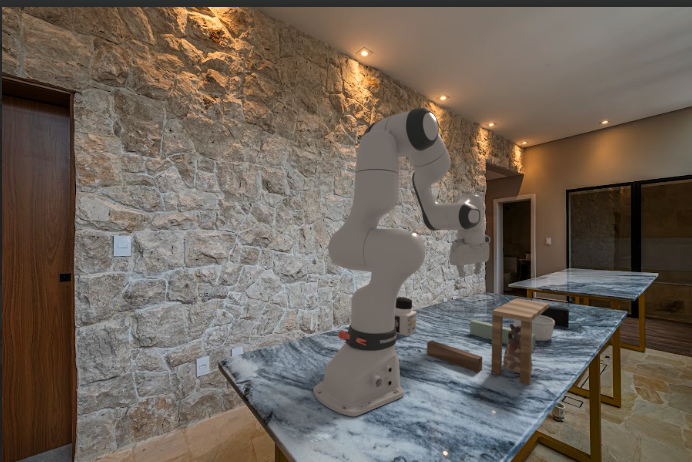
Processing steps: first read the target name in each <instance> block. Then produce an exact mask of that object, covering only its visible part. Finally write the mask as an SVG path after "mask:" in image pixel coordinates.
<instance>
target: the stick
mask: <svg viewBox="0 0 692 462" xmlns="http://www.w3.org/2000/svg"><path fill="white" fill-rule="evenodd" d="M426 355H427V356H430V357H433V358H436V359H439V360H441V361H444V362H447V363H449V364H452V365H456V366H458V367H461V368H464V369H467V370H469V371H472V372H475V373H479V374H480V372H481V371H483V356H481V355H478V354H475V353H473V352H469V351H465V350H463V349H459V348H455V347H454V346H451V345H447V344H443V343H441V342H439V341H435V340H430V341H427V342H426Z"/></svg>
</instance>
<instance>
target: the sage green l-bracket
mask: <svg viewBox="0 0 692 462" xmlns="http://www.w3.org/2000/svg"><path fill="white" fill-rule="evenodd" d="M509 331H511V328H510V327H506V326H503V328H502V344H505V345H507V343H508V342H509V340H508V332H509ZM469 334H470V335H472V336H476V337H480V338H484V339H488V340H490V341H492V323H490V322H485V321H480V320H476V319H471V320H470V321H469ZM512 337H513V339H514V335H512ZM535 337H536V334H532V348H531V353H533V352H534V350H536V340H535Z"/></svg>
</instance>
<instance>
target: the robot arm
mask: <svg viewBox="0 0 692 462" xmlns="http://www.w3.org/2000/svg"><path fill="white" fill-rule="evenodd" d="M439 127H440V125H439V122H438V119H437V116H436V115H435V113H433V112H432V110H430V109H428V108H426V107H419V108H418V107H417V108H413V109H411V110H409V111H404V112H400V113H396V114H392V115H389V116H387V117H385V118H383V119H381V120H379V121H375V122H373V123H371V124H370V125H369V126H368V127H366V129H365V131H364V133H363V135H362V137H361V139H360V141H359V145H358V149H357V155H356V161H355V171H354V173H355V174H354V189H353V201H352V206H351V209H350V212H349V214H348V217H347V218H346V220H345V221H344V223H343V224H342V225H341V227H340V228H339V229H338V230H337V231H335V232H334V233H332V236H331V237H330V240H329V241H328V246H327V247H328V248H327V249H328V250H327V251H328V252H327V253H328V255H329V258H330V260H331V262H332V264H334V265H335V266H338V267H341V268H344V269H347V270H350V271H351V270H352V271H361V272H362V271H363V272H370V273H371V274H370V275H371V276H370V280H369V283H367V284H366V285H363V286H362V287H359V288H358V289H357V290H355V292H354V293H353V295H352V296H351V299H350V301H351V305H350V307H351V308H350V309H351V310H350V324H349V327H348V329H347V331H345V330H343V329H341V330H339V331H338V333H337V334H338V335H337V337H338V338H339V339H340V340H344V341H345V343H344V344H343V345H342V347H341V348H340V349H339V350H338V351H337V353H335V355H334V356H333V357H332V358H331V360H330V361H329V362H328V363H327V364H326V366H325V369H324V374H323V380H322V381H321V382H319V383H318V384H316V385H315V386H314V387H313V391H312V392H313V396H314V398H315V399H317V401H318V402H319V403H321V404H323V406H325V407H327V408H328V409H330V410H332V411H334V412H336V413H339V414H341V415H345V416H348V417H358V416H360V415H363V414H365V413H368V412H370V411H372V410H374V409H376V408H379V407H381V406H384V405H386V404H389V403H391V402H394V401H396V400H398V399H400V398H403V397H404V395H405V392H404V391H405V390H404V388H403V387H402V386H401V375H400V374H401V372H400V360H399V356H398V353H397V350H396V346H395V345H396V344H397V335H398V334H397V333H396V327H395V326H394V325H395V307H396V299H397V298H398V294H399V292H400V289H401V287H402V285H403V284H404V283H405V282H406V280H407V279H408V278H409V277H411V276H412V275H414V274H415V273H416V272H417V271H419V270H420V269H421V267H422V266H423V264H424V262H425V258H426V246H425V244H424V241H423V239H422V238H421V236H420V235H419V233H416V232H413V231H408V230H404V229H400V228H399V229H398V228H378V224H379V222H380V220H381V219H382V217H383V216H385V215H387V214H388V213H390V212H391V211H393V210H394V209H395V208H396V206H397V204H398V199H399V173H400V172H399V170H400V169H399V166H400V165H399V157H404V156H408V159H409V161H410V163H411V165H412V167H413V171H414V172H413V173H412V174H411V175H412V176H411V182H412V187H413V190H414V192H415V193H414V194H415V196H416V199H417V202H418V204H419V207H420V210H421V216H422V222H423V224H424V225H425V227H426V228H427V229H429V230H430V231H433V232H434V231H435V232H436V231H457V234H456V235H457V238H456V239H454V240H453V242H451V243H452V244H451V246H450V249H449V259H448V262H449V264H450V265H451V266H456V270H457V272H458V277H459V278H465V277H466V271H464V268H465V265H473V264H474V265H475V266H474V269H473V275H480V274H481V269H482V267H483V263H486V262H488V261H489V259H490V242H491V236H488V235H487V234H485V233H484V228H483V221H484V204H483V199H482V197H481V196H480V195H479V194H475V193H464V194H461V195H460V196H459V198H458V201H455V202H449V203H445V202H444V203H440V202H437V201H435V198H434V194H433V191H432V188H431V186H432V185H434V184H436V183H438V182H440V181H441V180H442V179H443V178H444V177H445V176H446V175H447V174H448V172H449V170H450V169H451V164H452V162H451V156H450V153H449V151H448V149H447V145H446V144H445V142H444V140H443V138H442V137H441V134H440V128H439Z"/></svg>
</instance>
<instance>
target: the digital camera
mask: <svg viewBox="0 0 692 462" xmlns="http://www.w3.org/2000/svg"><path fill="white" fill-rule="evenodd" d="M540 315H542V316H546V317H549V318H551V319H553V320H554V321H555V325H554V326H559V327H565V328H569V326H570V325H569V323H570V322H569V321H570V319H569V318H570V310H569V308H566V307H565V308H564V307H559V306H550V305H549V308H547V309H546V310H545V311H544V312H542V313H541V314H540Z"/></svg>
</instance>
